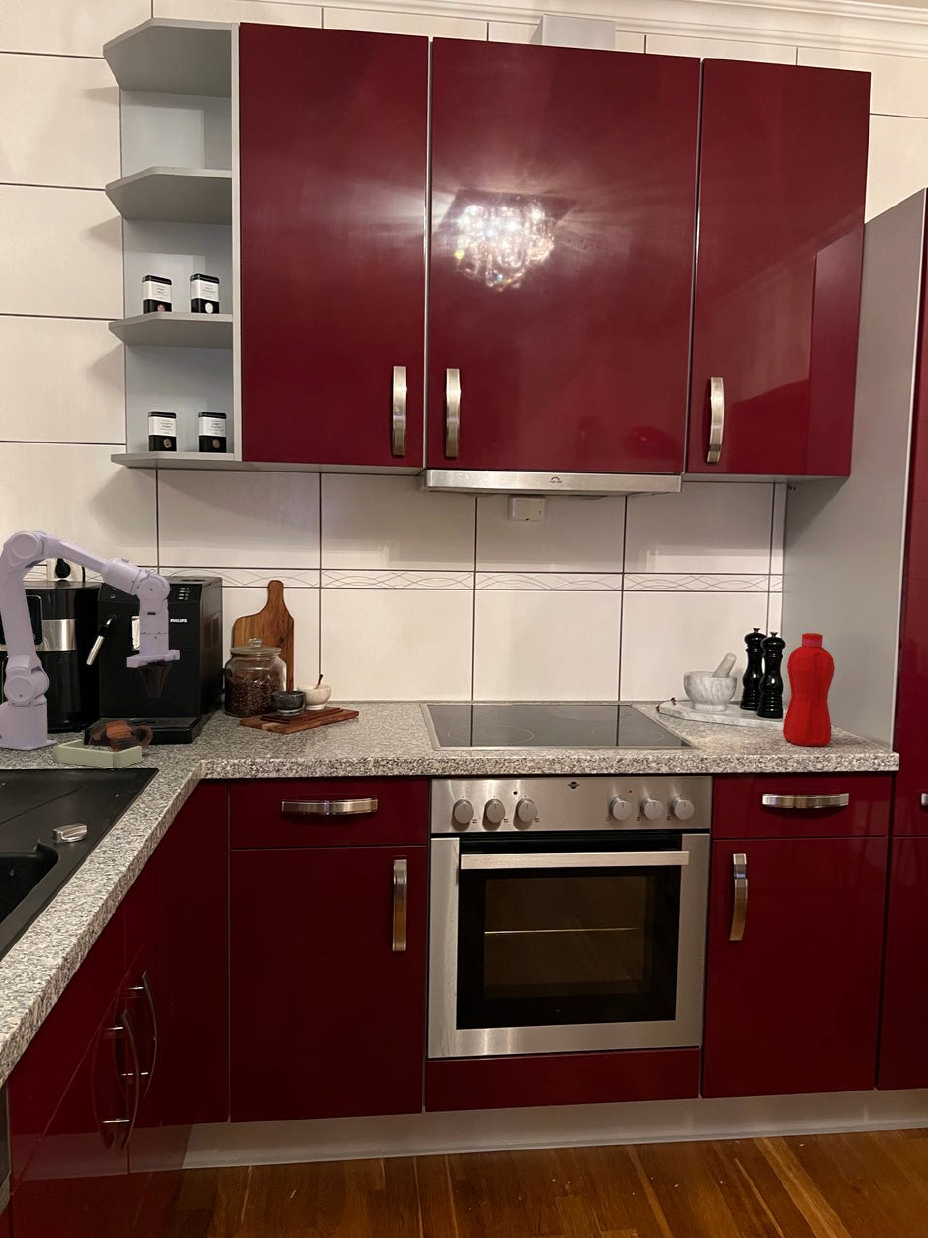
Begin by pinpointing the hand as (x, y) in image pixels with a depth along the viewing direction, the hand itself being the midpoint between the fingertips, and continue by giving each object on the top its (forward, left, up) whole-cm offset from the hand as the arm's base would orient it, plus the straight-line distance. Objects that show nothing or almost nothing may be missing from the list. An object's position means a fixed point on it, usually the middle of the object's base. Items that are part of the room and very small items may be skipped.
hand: (154, 697), depth 195 cm
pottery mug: (+1, -11, -10) cm, 15 cm away
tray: (0, -17, -10) cm, 20 cm away
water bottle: (+129, +63, -10) cm, 144 cm away
